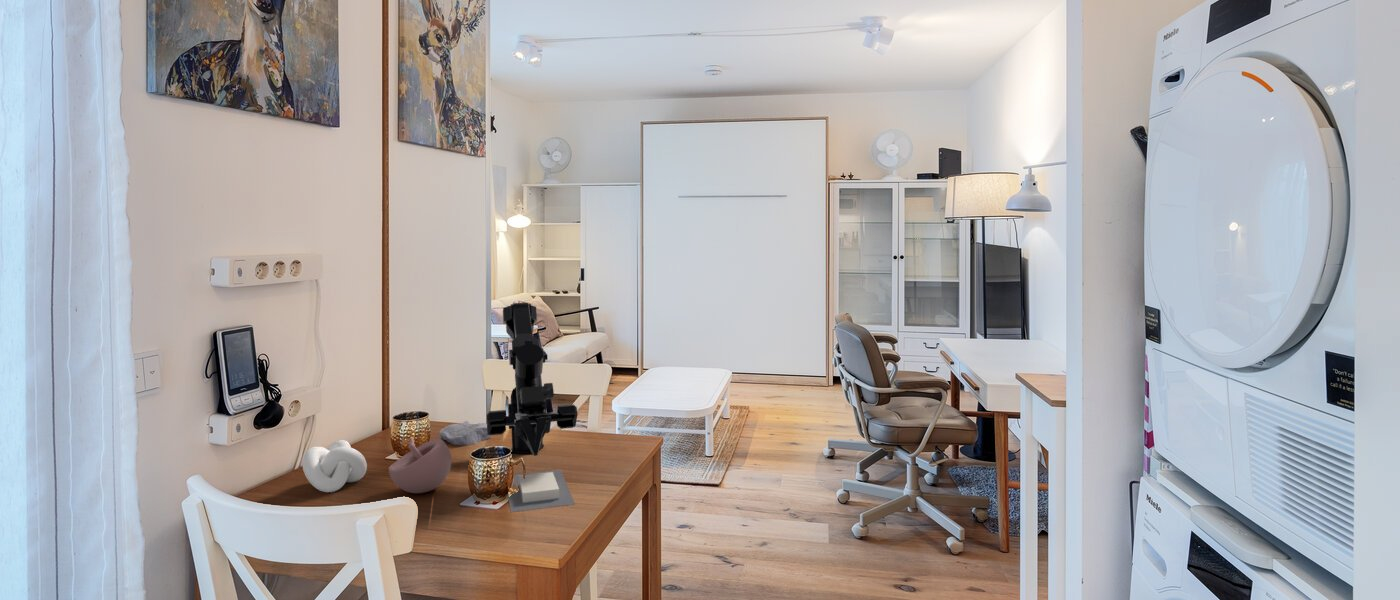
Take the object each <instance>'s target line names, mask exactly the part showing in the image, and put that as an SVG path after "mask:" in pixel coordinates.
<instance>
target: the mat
mask: <svg viewBox="0 0 1400 600" xmlns="http://www.w3.org/2000/svg"><path fill="white" fill-rule="evenodd" d="M548 472H553V474H554V477H555V479H556V482H557V485H558V487H559V499H554V500H546V501H538V502H530V503H523V502H522V497H521V493H520V488H519V485H518V483H519V476H521V475H523V474H524V473H518V474H513V475H514V482H513V487H515V486H516V484H517V485H518V488H519V491H518V492H517V493H514V494H512V495H511V496H510V497H509V498H508V497H507V499H508V504H509V509H510V513H517V512H524V511H533V510H534V511H535V510H540V509H549V508H557V507H564V506H565V507H566V506H571V505H575V504H576V503H575V500H574V498H573V496H572V493H571V491H570V488H569V486H568V484H567V482H566V479H565V477H564V475H563V472H562V470H561V469H554V470H544V471H538V472H537V471H535V472H527V473H529V475H530V474H539V473H548ZM527 473H525V474H526V475H527Z"/></svg>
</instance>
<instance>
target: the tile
mask: <svg viewBox="0 0 1400 600" xmlns="http://www.w3.org/2000/svg"><path fill="white" fill-rule="evenodd" d="M519 488H520V493H521V497H522V502H523V503H530V502H538V501H546V500H554V499H559V487H558V485H557V482H556V479H555V477H554V474H553V472H548V473H539V474H530V475H525V479H524V478H523V475H521V476H519Z"/></svg>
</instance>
